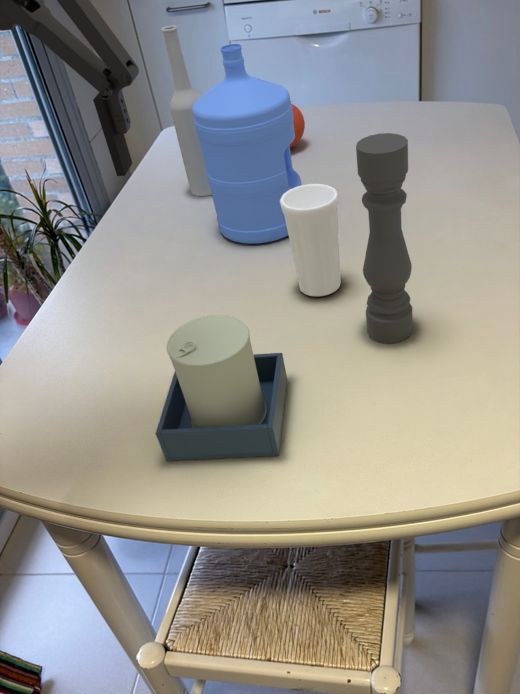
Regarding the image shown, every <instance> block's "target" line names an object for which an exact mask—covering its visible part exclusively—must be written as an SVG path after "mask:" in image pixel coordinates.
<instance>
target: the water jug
mask: <svg viewBox="0 0 520 694" xmlns="http://www.w3.org/2000/svg"><path fill="white" fill-rule="evenodd" d="M242 49H243V46H242V44H240V43H231V44H226V45H224V46H221V47H220V48H219V50H220V52H221V55H222V65H223V67H224V73H225V75H224V78H223V79H222V80H221V81H220V82H218V83H217V84H216V85H214V86H213V87H211V89H209V90H207V91H206V92H205V93H203V94H202V95H201V97H199V98H198V99H197V100H196V101H195V102H194V104H193V107H192V112H193V116H194V125H195V129H196V133H197V136H198V138H199V142H200V146H201V151H202V155H203V159H204V163H205V168H206V176H207V180H208V184H209V187H210V189H211V193H212V194H211V197H212V201H213V206H214V208H215V209H214V210H215V215H216V222H217V227H218V230H219V232H220V233H221V234H222V235H223V237H225V238H226V239H228V240H230V241H232V242H236V243H239V244H247V245H256V244H265V243H266V244H267V243H272V242H275V241H278V240H281V239H284V238H286V237H289V235H288V230H287V225H286V221H285V216H284V214H283V211H282V208H281V204H280V199H281V197H282V195H283V194H284V193H286V192H287V191H288V190H290V189H293V188H295V187H298V186H302V185H303V184H302V179H301V176H300V174H299V172H297V171H296V170H295V169H294V167H293V161H292V154H291V148H290V146H289V145H290V144H291V143H292V142H293V140H294V138H295V131H294V124H293V120H294V119H293V110H292V104H293V103H292V102H290V101H291V96H290V95H291V94H290V93H289V90H288V89H287V88H286V87H285V86H283V85H281V84H279V83H275V82H272V81H268V80H265V79H262V78H259V77H256V76H252V75H249V73H247V71H246V67H245V57H244V56H243V53H242Z"/></svg>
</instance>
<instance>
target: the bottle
mask: <svg viewBox="0 0 520 694" xmlns="http://www.w3.org/2000/svg"><path fill="white" fill-rule="evenodd" d="M178 29H179V28H178V26H177V25H173V24H172V25H167V26H164V27H162V28H161V32H162V34H163V39H164V43H165V47H166V51H167V56H168V60H169V64H170V68H171V74H172V80H173V84H174V92H173V95H172V97H171V100H170V104H169V110H170V114H171V117H172V121H173V122H172V123H173V126H174V129H175V134H176V137H177V142H178V146H179V149H180V155H181V158H182V162H183V166H184V170H185V174H186V179H187V182H188V186H189V189H190V193H191V195H193V196H197V197H206V196H212V193H211V189H210V187H209V184H208V180H207V176H206V168H205V163H204V159H203V155H202V151H201V146H200V142H199V138H198V136H197V133H196V129H195V125H194V116H193V112H192V107H193V104H194V102H195V101H196V100H197V99H198V98H199V97H201V96H202V95H201V94H200V93H199V92H197V90H195V89H194V87H192V84H191V81H190V77H189V74H188V70H187V67H186V62H185V59H184V55H183V50H182V47H181V43H180V38H179V33H178Z"/></svg>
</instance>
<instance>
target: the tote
mask: <svg viewBox="0 0 520 694" xmlns="http://www.w3.org/2000/svg"><path fill="white" fill-rule="evenodd" d="M253 356H254V360H255V365H256V369H257V374H258V378H259V383H260V387H261V391H262V395H263V399H264V401H265V403H266V406H267V414H266V417H265V419H264V421H263V423H262V424H261V425H242V426H223V427H204V428H193V427H192V423H191V417H190V413H189V410H188V407H187V404H186V401H185V398H184V395H183V392H182V389H181V387H180V384H179V381H178V378H177V375H176V372H175V371H174V372H173V376H172V379H171V382H170V385H169V388H168V390H167V391H168V392H167V395H166V397H165V402H164V404H163V408H162V411H161V414H160V417H159V421H158V424H157V427H156V431H155V433H154V434H155V436H156V439H157V441H158V443H159V446H160V449H161V452H162V454H163V456H164V459H165V461H166V462H167V461H168V462H169V461H170V462H171V461H173V462H174V461H191V460H212V459H213V460H214V459H215V460H217V459H235V458H256V457H257V458H258V457H278V456H280V449H281V442H282V441H281V440H282V431H283V424H284V423H283V422H284V413H285V407H286V397H287V388H288V376H287V370H286V365H285V360H284V354H283V352H270V353H256V354H255V353H253Z"/></svg>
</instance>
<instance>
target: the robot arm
mask: <svg viewBox="0 0 520 694" xmlns="http://www.w3.org/2000/svg"><path fill="white" fill-rule="evenodd" d="M56 1H57V3H58V5H60V7H61V8H62V10H64V13H66V15H67V16H68V17H69V19H70V20H71V21H72V23H73V24H74V25H75V26H76V28H77V29H78V31H79V32H80V33H81V34H82V36H83V37H84V38H85V40H86V41H87V42H88V43H89V45H90V46H91V47H92V49H93V50H94V51H95V53H94V52H93V50H91V49H90V48H89V47H88V46H87V45H86V44H85V43H84V42H82V41H81V40H80V39H79V38H78V37H77V36H76V35H74V34H73V33H72V32H71V30H69V29H68V28H67V27H66V26H64V25H63V23H61V22H60V21H59V20H58V19H57V18H56V17H54V15H53V14H52V12H51V10H50V9H49V8H48V7H47V5H45V4H44V3H43V2H42V1H41V0H0V31H1V32H2V31H3V32H4V31H12V30H13V29H15V28H16V27H17V26H18V27H20V28H21V29H22V30H23V31H24V32H26V33H27V34H29V35H32V36H34V37H36V38H37V39H38V40H39V41H40V42H41V43H42V44H44V45H45V46H46V47H47V48H48V49H49V50H50V51H52V52H53V53H54V54H55V55H56V56H58V57H59V59H60V60H62V61H63V62H64V63H65V64H67V66H69V68H71V69H72V70H74V72H75V73H77V74H78V76H80V77H81V78H83V80H85V81H86V82H87V83H88V84H89V85H90V86H92V87H93V88H94V89H95V90H96V91H97V92H98V93H97V94H96V96H95V97H94V98H93V99H92V101H93V104H94V108H95V111H96V113H97V117H98V120H99V123H100V127H101V130H102V132H103V136H104V139H105V143H106V145H107V148H108V152H109V155H110V157H111V161H112V164H113V167H114V170H115V174H116V177H124V176H125V177H126V175H127V174H128V172H129V170H130V169H131V167H132V165H133V160H132V157H131V153H130V150H129V147H128V143H127V140H126V137H125V134H127V133H128V132H129V130H130V129H131V118H130V115H129V110H128V108H127V104H126V100H125V97H124V93H123V89H124V88H126V87H130V86H131V85H132V84H133V82H134V81H135V80H136V78H137V77H138V76H139V73H140V68H139V66H138V65H137V63H136V62H135V60H134V59H133V58H132V56H131V55H130V54H129V52H128V51H127V50H126V48H125V47H124V45H123V44H122V42H121V41H120V40H119V38H118V37H117V36H116V34H115V33H114V32H113V30H112V28H110V26H109V25H108V24H107V22H106V20H104V18H103V17H102V15H101V14H100V12H99V11H98V9H97V8H96V7H95V6H94V4H93V3H92V1H91V0H56Z"/></svg>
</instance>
